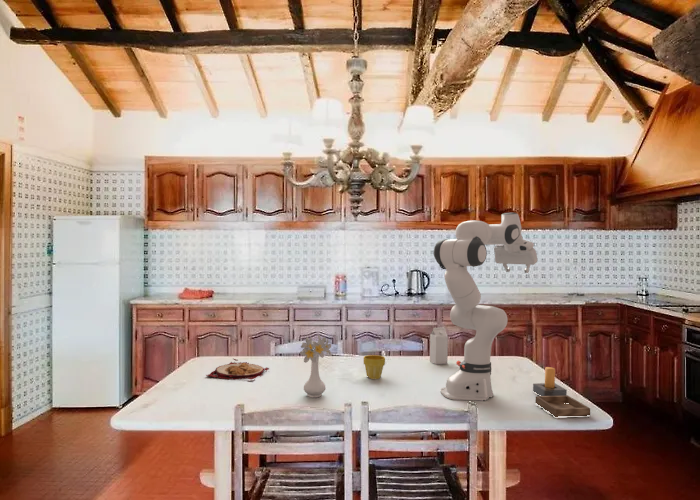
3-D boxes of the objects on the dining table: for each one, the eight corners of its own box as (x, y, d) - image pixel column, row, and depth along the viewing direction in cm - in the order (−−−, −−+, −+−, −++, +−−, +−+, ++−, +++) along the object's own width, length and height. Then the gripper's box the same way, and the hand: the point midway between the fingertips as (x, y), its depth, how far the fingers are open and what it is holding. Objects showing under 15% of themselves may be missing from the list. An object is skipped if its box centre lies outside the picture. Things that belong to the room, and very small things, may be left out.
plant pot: (383, 374, 256) (384, 354, 256) (385, 380, 246) (386, 359, 246) (362, 374, 256) (363, 354, 256) (364, 380, 245) (364, 359, 245)
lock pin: (547, 397, 223) (548, 369, 223) (542, 394, 227) (543, 367, 226) (556, 397, 223) (556, 369, 223) (551, 394, 227) (552, 367, 227)
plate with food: (204, 379, 247) (204, 371, 247) (231, 364, 272) (231, 357, 272) (252, 384, 241) (252, 376, 240) (274, 368, 266) (275, 362, 266)
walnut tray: (555, 418, 197) (555, 409, 197) (535, 404, 213) (535, 396, 213) (590, 417, 199) (590, 408, 198) (567, 403, 214) (567, 395, 214)
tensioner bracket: (544, 399, 220) (544, 390, 219) (533, 392, 229) (533, 383, 229) (566, 399, 221) (566, 389, 221) (554, 391, 231) (554, 383, 231)
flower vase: (296, 402, 211) (297, 341, 211) (303, 389, 230) (303, 333, 229) (328, 403, 211) (329, 342, 210) (332, 390, 229) (333, 333, 228)
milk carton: (429, 361, 284) (430, 326, 283) (441, 360, 286) (442, 326, 286) (435, 364, 277) (436, 329, 277) (447, 363, 279) (448, 328, 279)
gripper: (490, 246, 253) (494, 273, 257) (531, 247, 240) (535, 275, 243) (496, 242, 258) (500, 268, 261) (536, 243, 244) (540, 270, 248)
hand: (517, 272), depth 252 cm, fingers open, 8 cm apart
